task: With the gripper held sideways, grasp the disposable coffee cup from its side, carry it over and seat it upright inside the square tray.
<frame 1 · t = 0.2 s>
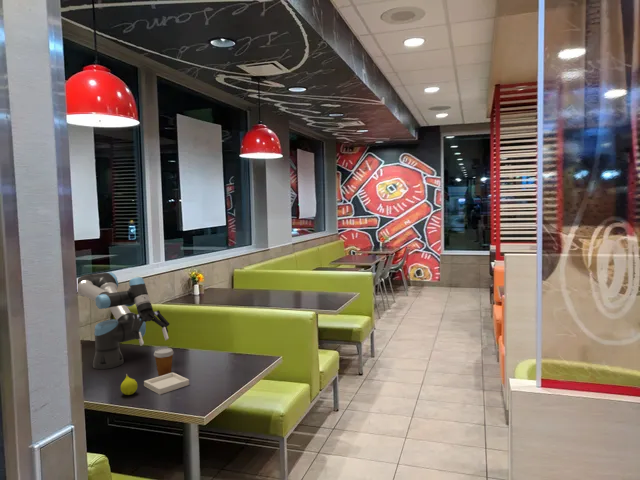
hand: (154, 341, 239), 15 cm above the table, tool tilted 35°, fingers open, 13 cm apart
disposable coffee cup: (164, 374, 234), on the table
square tray: (166, 385, 219), on the table
ornament: (129, 394, 209), on the table
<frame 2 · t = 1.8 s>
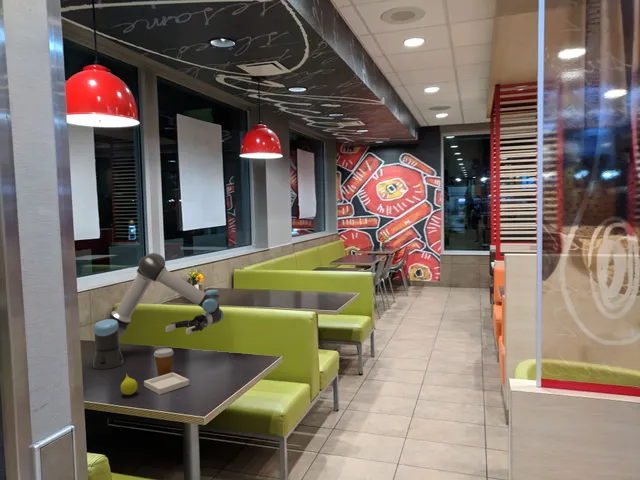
hand: (176, 330, 241), 20 cm above the table, tool horizontal, fingers open, 13 cm apart
nothing on the table moved.
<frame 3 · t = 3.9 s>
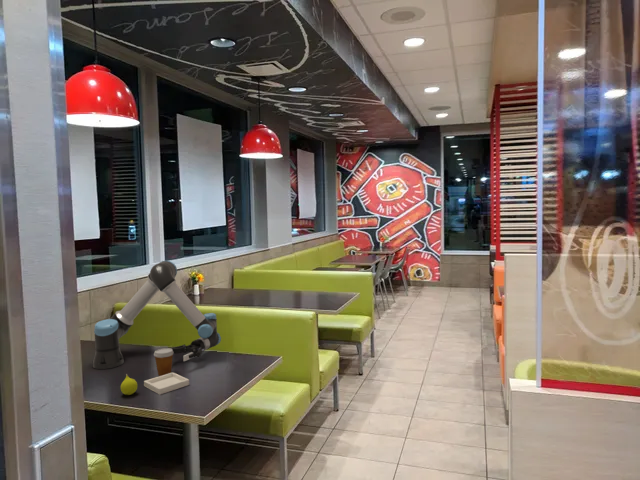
hand: (173, 357, 239), 7 cm above the table, tool horizontal, fingers open, 13 cm apart
nothing on the table moved.
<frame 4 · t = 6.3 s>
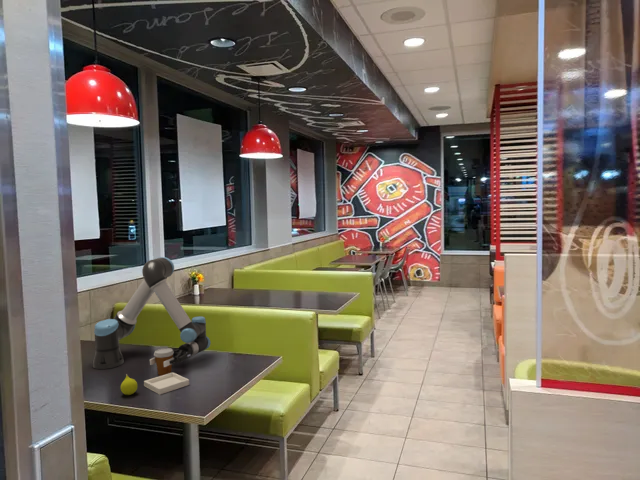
hand: (157, 363, 229), 7 cm above the table, tool horizontal, fingers closed on disposable coffee cup, 8 cm apart
disposable coffee cup: (164, 374, 234), on the table, touching gripper
everything else where it was.
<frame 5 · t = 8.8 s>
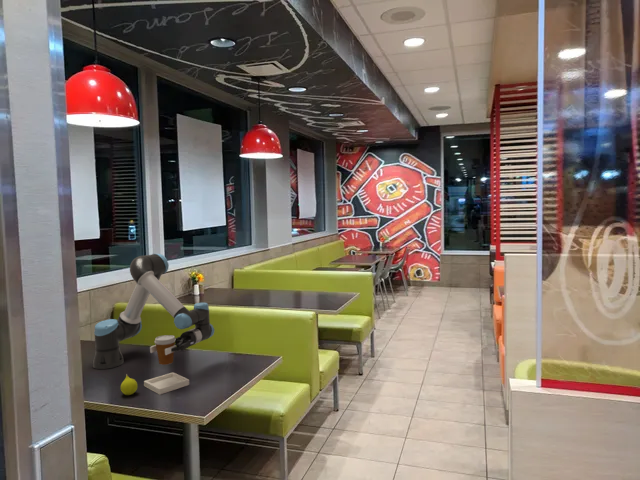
hand: (158, 351, 213), 18 cm above the table, tool horizontal, fingers closed on disposable coffee cup, 8 cm apart
disposable coffee cup: (166, 363, 218), point 11 cm above the table, touching gripper
everything else where it was.
when the fingers open (9 cm above the table, at t = 11.4 s): disposable coffee cup moves 4 cm, resting on square tray.
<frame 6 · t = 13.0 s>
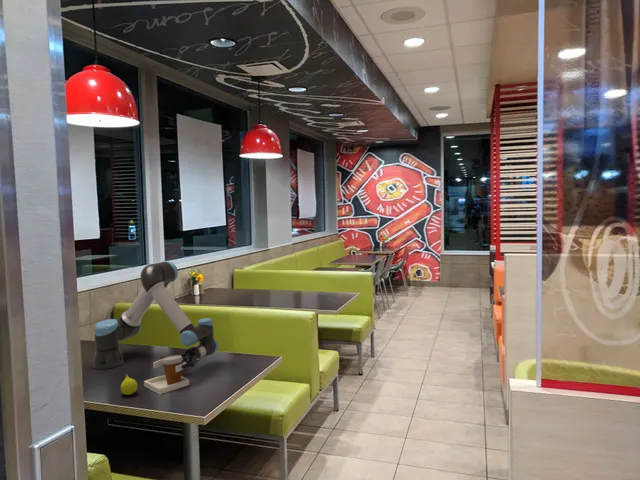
hand: (164, 367, 217), 9 cm above the table, tool horizontal, fingers open, 13 cm apart
disposable coffee cup: (174, 383, 219), point 1 cm above the table, touching square tray, gripper
everything else where it was.
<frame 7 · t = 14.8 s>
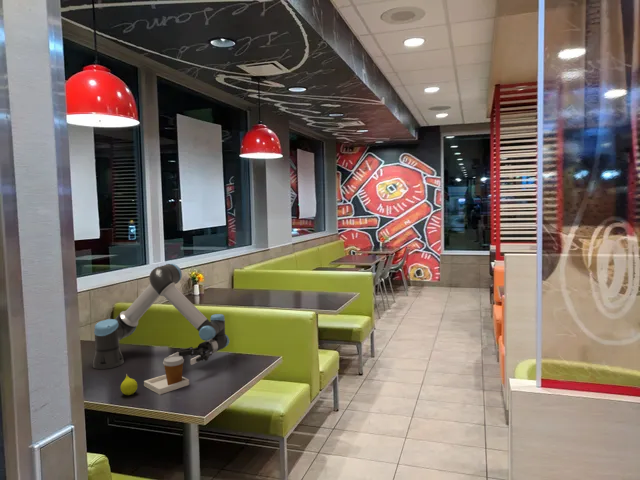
hand: (179, 360, 227), 9 cm above the table, tool horizontal, fingers open, 13 cm apart
disposable coffee cup: (174, 383, 219), point 1 cm above the table, touching square tray
everything else where it was.
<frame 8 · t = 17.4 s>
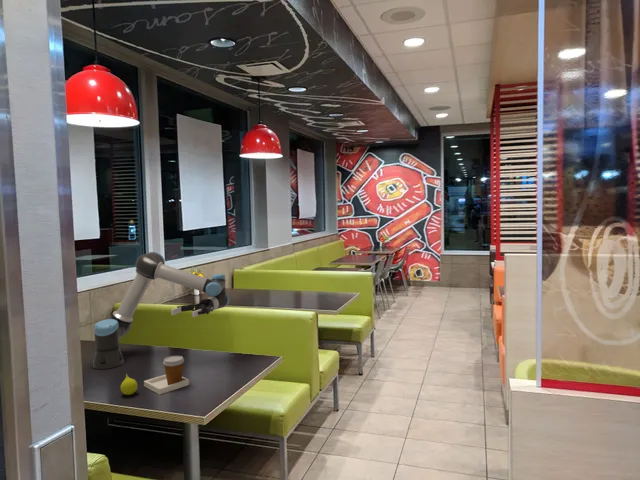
hand: (182, 313, 236), 30 cm above the table, tool horizontal, fingers open, 13 cm apart
nothing on the table moved.
at the end: disposable coffee cup 3.7 cm off-centre on the square tray, point 0.6 cm above the square tray's base; disposable coffee cup tilted 0°; the gripper is holding nothing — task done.
